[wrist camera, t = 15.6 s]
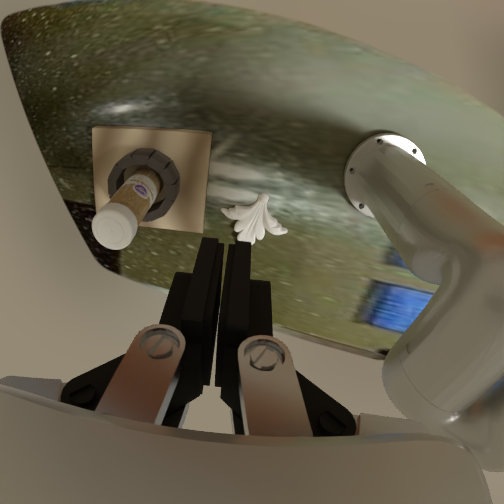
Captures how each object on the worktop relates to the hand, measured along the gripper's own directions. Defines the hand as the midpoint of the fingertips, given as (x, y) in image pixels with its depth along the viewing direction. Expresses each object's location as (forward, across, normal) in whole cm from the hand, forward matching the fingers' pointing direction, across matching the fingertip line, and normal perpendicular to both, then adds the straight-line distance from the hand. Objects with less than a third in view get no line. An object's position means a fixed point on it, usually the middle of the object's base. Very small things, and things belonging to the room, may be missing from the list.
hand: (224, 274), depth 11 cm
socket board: (+31, +12, +9) cm, 35 cm away
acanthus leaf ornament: (+32, -2, +14) cm, 35 cm away
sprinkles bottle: (+30, +12, +9) cm, 34 cm away
